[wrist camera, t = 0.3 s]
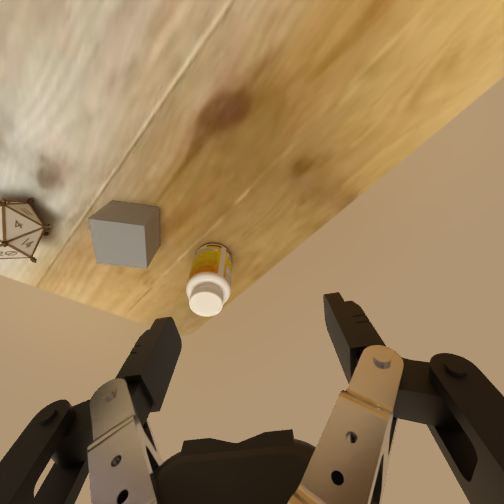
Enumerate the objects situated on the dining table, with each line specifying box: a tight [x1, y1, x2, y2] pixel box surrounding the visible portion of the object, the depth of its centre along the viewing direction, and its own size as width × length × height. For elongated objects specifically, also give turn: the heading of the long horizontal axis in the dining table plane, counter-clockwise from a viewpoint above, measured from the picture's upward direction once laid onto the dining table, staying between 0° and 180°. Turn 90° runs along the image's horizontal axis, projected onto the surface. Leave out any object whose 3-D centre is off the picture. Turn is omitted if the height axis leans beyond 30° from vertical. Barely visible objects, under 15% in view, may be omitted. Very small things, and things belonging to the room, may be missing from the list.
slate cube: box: [88, 200, 160, 269], centre depth 32 cm, size 6×6×6 cm
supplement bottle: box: [186, 244, 232, 317], centre depth 33 cm, size 6×6×10 cm
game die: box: [0, 198, 53, 263], centre depth 29 cm, size 9×8×10 cm
